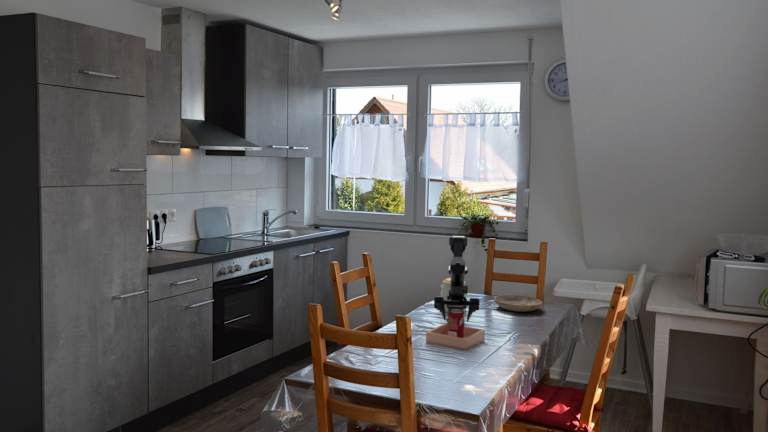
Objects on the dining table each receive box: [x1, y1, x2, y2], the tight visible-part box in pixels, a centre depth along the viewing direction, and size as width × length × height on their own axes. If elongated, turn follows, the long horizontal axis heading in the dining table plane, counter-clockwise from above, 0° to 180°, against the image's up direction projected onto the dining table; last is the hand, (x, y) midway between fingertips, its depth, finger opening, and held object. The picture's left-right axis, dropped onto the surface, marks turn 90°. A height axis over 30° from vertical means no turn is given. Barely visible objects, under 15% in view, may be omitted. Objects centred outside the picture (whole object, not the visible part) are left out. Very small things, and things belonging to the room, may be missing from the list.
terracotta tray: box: [425, 322, 486, 352], centre depth 283 cm, size 18×18×4 cm
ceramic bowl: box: [494, 294, 543, 313], centre depth 343 cm, size 23×24×5 cm
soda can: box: [447, 309, 465, 338], centre depth 283 cm, size 7×7×12 cm
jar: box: [440, 277, 468, 313], centre depth 337 cm, size 13×13×18 cm
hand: (456, 320), depth 281 cm, fingers open, 9 cm apart
